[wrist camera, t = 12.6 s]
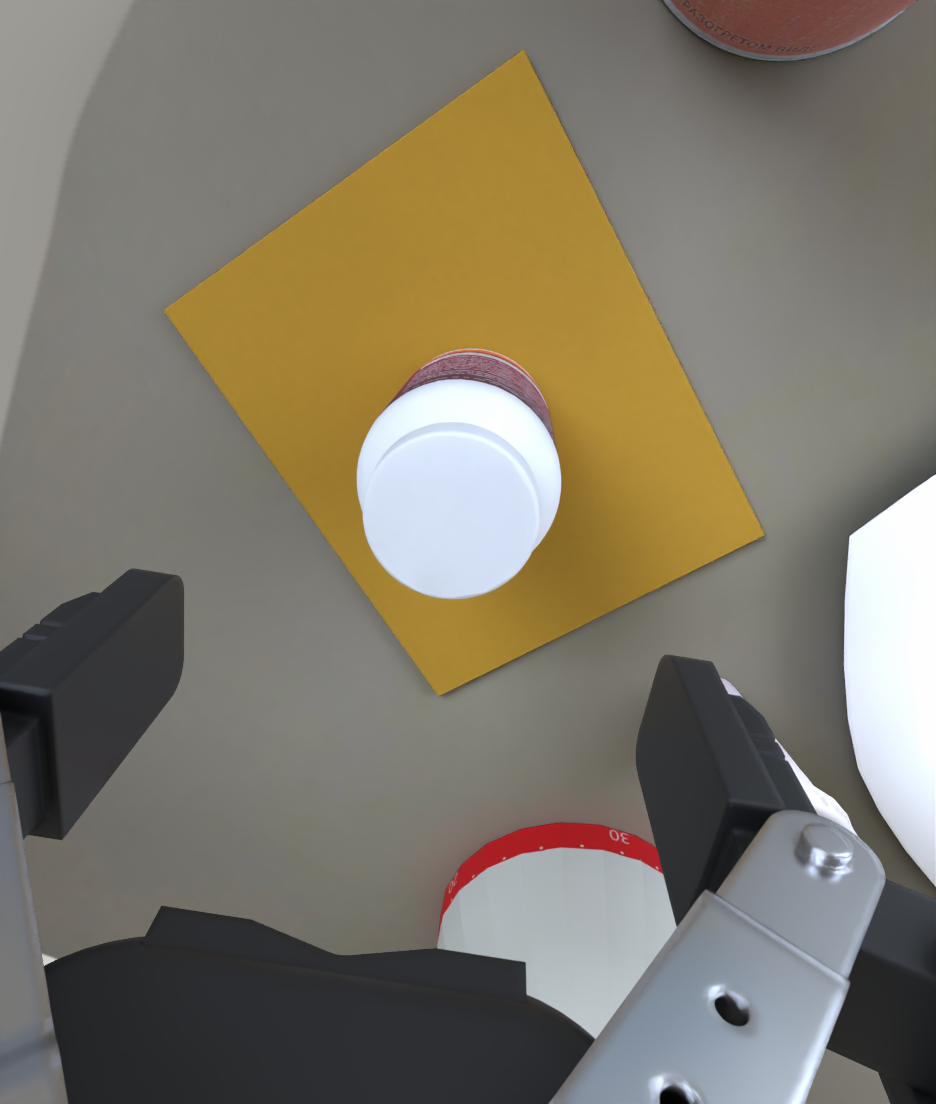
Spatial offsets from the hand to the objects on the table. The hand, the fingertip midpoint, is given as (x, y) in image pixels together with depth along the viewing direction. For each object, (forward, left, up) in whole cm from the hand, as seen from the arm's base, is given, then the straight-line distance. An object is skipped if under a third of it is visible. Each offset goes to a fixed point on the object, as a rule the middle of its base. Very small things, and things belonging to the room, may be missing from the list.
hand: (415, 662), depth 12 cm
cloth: (0, 0, -19) cm, 19 cm away
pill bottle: (0, 0, -19) cm, 19 cm away
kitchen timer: (+27, -5, -19) cm, 33 cm away
